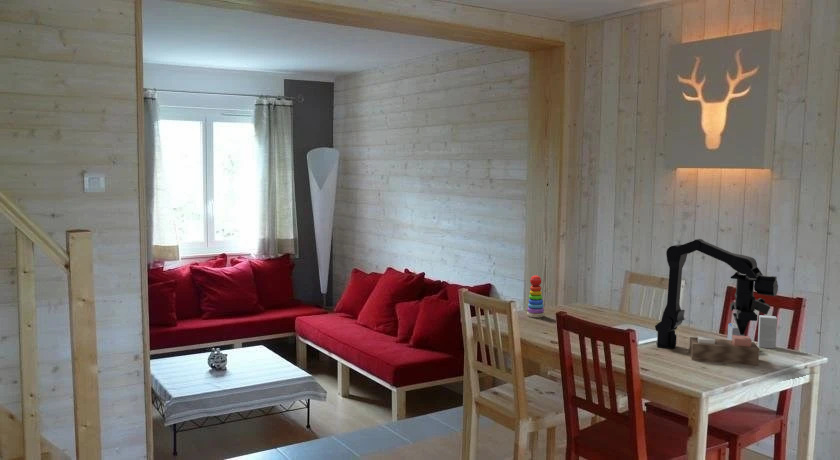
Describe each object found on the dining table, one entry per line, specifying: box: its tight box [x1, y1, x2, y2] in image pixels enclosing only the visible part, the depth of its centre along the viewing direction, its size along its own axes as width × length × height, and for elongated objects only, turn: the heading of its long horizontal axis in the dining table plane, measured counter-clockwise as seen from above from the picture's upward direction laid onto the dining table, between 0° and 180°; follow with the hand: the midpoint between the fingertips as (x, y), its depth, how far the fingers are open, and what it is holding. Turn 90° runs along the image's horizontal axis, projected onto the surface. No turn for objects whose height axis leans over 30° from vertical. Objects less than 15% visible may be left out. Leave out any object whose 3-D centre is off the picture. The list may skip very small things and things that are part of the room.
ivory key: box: [696, 335, 716, 344], centre depth 258 cm, size 6×6×4 cm
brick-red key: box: [732, 335, 753, 347], centre depth 255 cm, size 6×6×4 cm
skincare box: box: [757, 314, 778, 349], centre depth 275 cm, size 6×4×12 cm
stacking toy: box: [526, 275, 545, 318], centre depth 322 cm, size 8×8×19 cm
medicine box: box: [726, 322, 745, 340], centre depth 273 cm, size 8×4×9 cm, turn 168°
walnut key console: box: [688, 336, 760, 366], centre depth 257 cm, size 22×10×6 cm, turn 75°
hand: (741, 334), depth 255 cm, fingers closed
